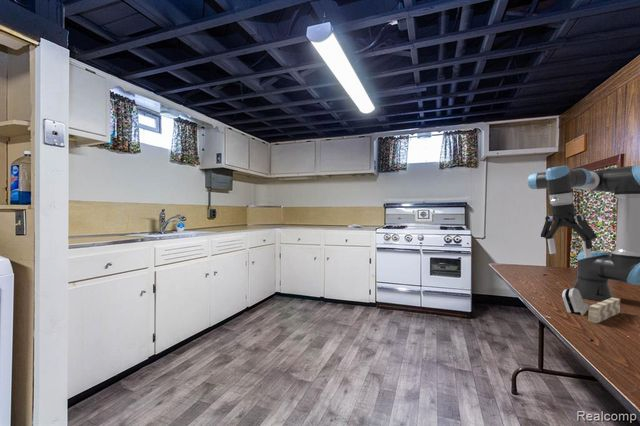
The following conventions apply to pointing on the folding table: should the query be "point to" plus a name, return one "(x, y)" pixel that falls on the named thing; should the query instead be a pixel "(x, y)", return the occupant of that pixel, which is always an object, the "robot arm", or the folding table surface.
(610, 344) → the folding table surface
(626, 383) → the folding table surface
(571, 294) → the white black rounded case
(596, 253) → the robot arm
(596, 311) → the bench stop
